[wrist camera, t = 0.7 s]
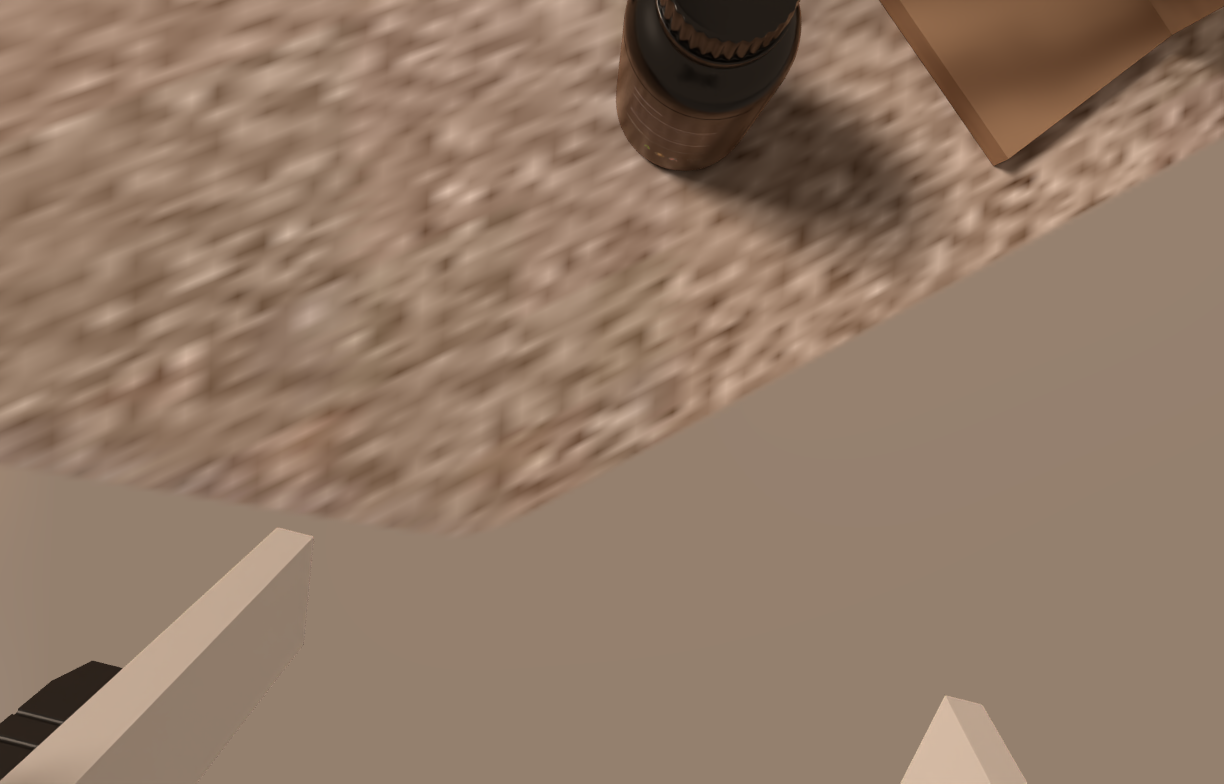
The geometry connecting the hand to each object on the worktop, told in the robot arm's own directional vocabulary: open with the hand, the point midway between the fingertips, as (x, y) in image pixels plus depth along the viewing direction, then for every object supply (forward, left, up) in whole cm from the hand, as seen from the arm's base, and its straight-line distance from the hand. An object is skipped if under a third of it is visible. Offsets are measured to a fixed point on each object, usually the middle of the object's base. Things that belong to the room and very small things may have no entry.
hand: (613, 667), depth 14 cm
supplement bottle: (-18, +7, -21) cm, 29 cm away
